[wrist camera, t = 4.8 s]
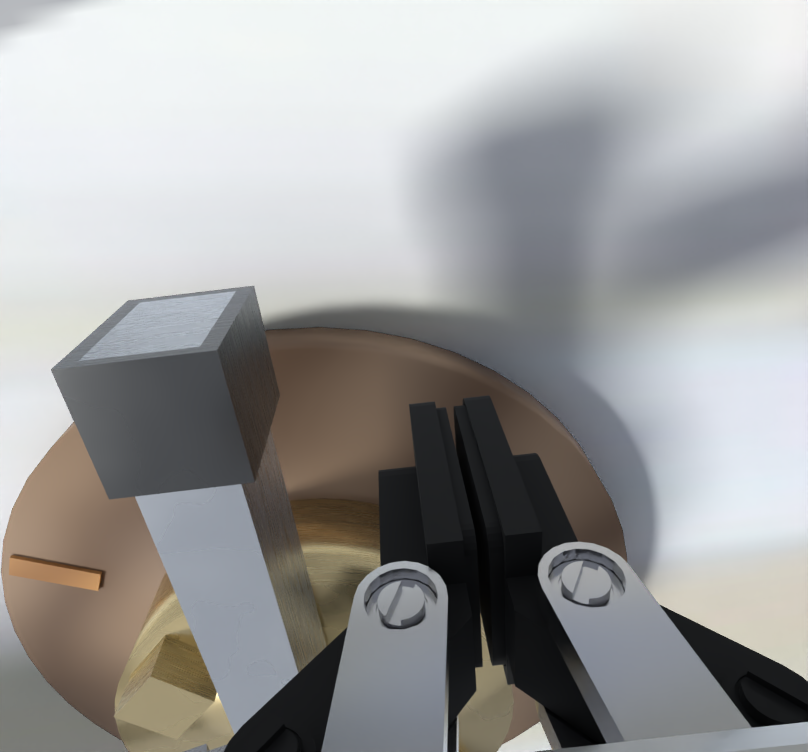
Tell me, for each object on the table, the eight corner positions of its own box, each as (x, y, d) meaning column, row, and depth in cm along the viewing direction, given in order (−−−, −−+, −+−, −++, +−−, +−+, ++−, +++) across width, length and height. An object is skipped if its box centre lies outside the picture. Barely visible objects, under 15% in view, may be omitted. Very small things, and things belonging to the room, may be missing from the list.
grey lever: (496, 709, 23) (540, 922, 17) (206, 744, 23) (150, 969, 17) (474, 217, 14) (552, 316, 8) (-13, 274, 14) (-295, 415, 8)
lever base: (731, 460, 20) (758, 489, 18) (456, 785, 29) (460, 822, 27) (85, 208, 15) (55, 221, 13) (-7, 698, 24) (-32, 737, 22)
